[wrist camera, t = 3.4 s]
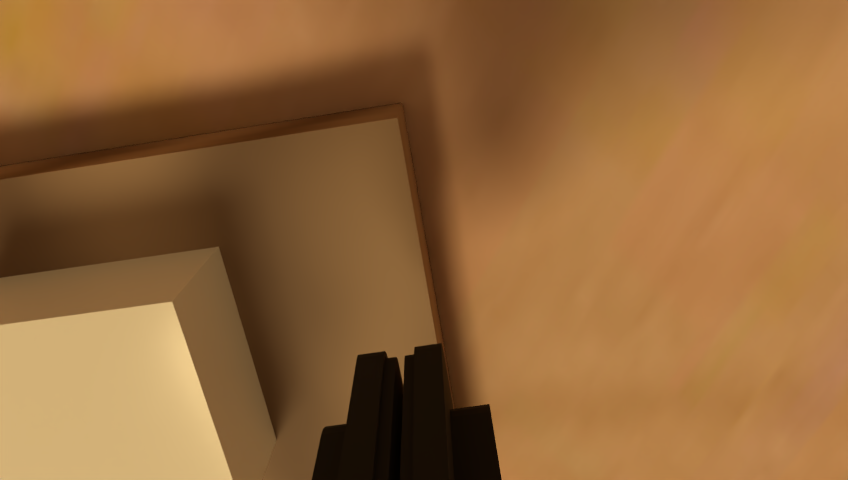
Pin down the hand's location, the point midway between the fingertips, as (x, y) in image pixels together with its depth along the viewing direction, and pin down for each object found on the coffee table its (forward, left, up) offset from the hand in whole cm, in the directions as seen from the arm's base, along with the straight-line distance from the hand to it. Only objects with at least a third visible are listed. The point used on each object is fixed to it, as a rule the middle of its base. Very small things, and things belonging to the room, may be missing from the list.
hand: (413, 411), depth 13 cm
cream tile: (+8, +1, -4) cm, 9 cm away
